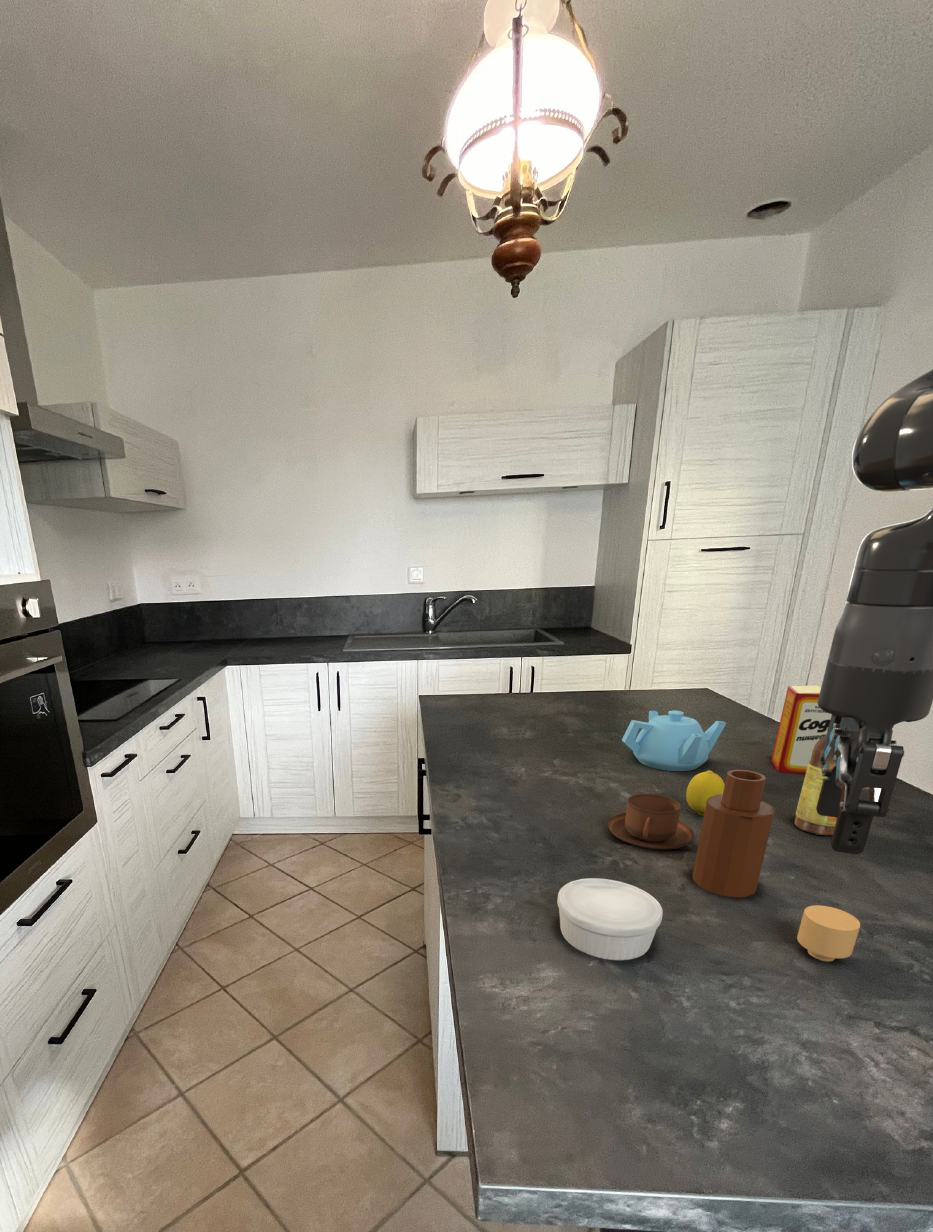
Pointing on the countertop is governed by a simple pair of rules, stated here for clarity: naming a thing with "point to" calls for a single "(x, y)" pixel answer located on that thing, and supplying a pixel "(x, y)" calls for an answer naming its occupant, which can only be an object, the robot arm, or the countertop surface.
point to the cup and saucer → (651, 823)
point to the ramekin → (608, 918)
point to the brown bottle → (734, 836)
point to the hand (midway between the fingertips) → (836, 832)
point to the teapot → (671, 741)
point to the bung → (828, 932)
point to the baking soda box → (799, 729)
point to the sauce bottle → (814, 796)
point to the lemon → (703, 790)
